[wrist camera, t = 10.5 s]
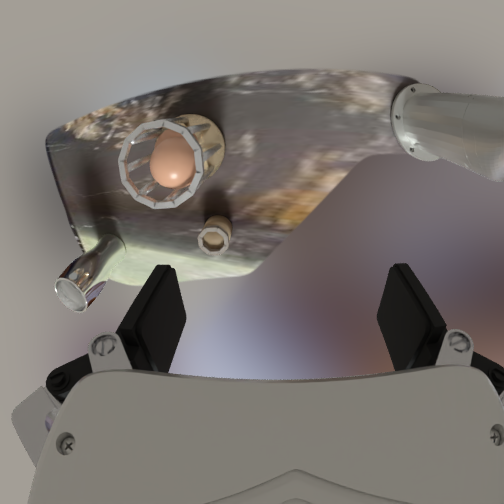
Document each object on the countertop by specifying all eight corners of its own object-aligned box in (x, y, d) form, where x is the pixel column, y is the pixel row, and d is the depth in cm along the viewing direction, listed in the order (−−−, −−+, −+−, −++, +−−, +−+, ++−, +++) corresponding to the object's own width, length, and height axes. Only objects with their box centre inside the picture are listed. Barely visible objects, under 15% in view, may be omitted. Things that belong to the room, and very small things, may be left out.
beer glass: (122, 230, 44) (77, 277, 31) (132, 263, 47) (94, 316, 34) (93, 232, 44) (47, 276, 31) (103, 263, 48) (64, 312, 35)
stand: (231, 214, 42) (226, 227, 37) (233, 239, 44) (229, 254, 40) (203, 215, 42) (196, 228, 38) (206, 240, 44) (200, 255, 40)
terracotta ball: (185, 121, 28) (214, 146, 26) (185, 158, 33) (211, 185, 31) (138, 139, 26) (162, 168, 24) (145, 177, 31) (167, 207, 29)
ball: (206, 126, 34) (184, 120, 29) (207, 168, 36) (185, 168, 30) (170, 132, 36) (145, 128, 30) (171, 171, 37) (146, 172, 32)
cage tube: (222, 110, 34) (201, 109, 23) (227, 179, 39) (211, 209, 28) (154, 119, 35) (109, 127, 24) (162, 184, 40) (125, 215, 29)
